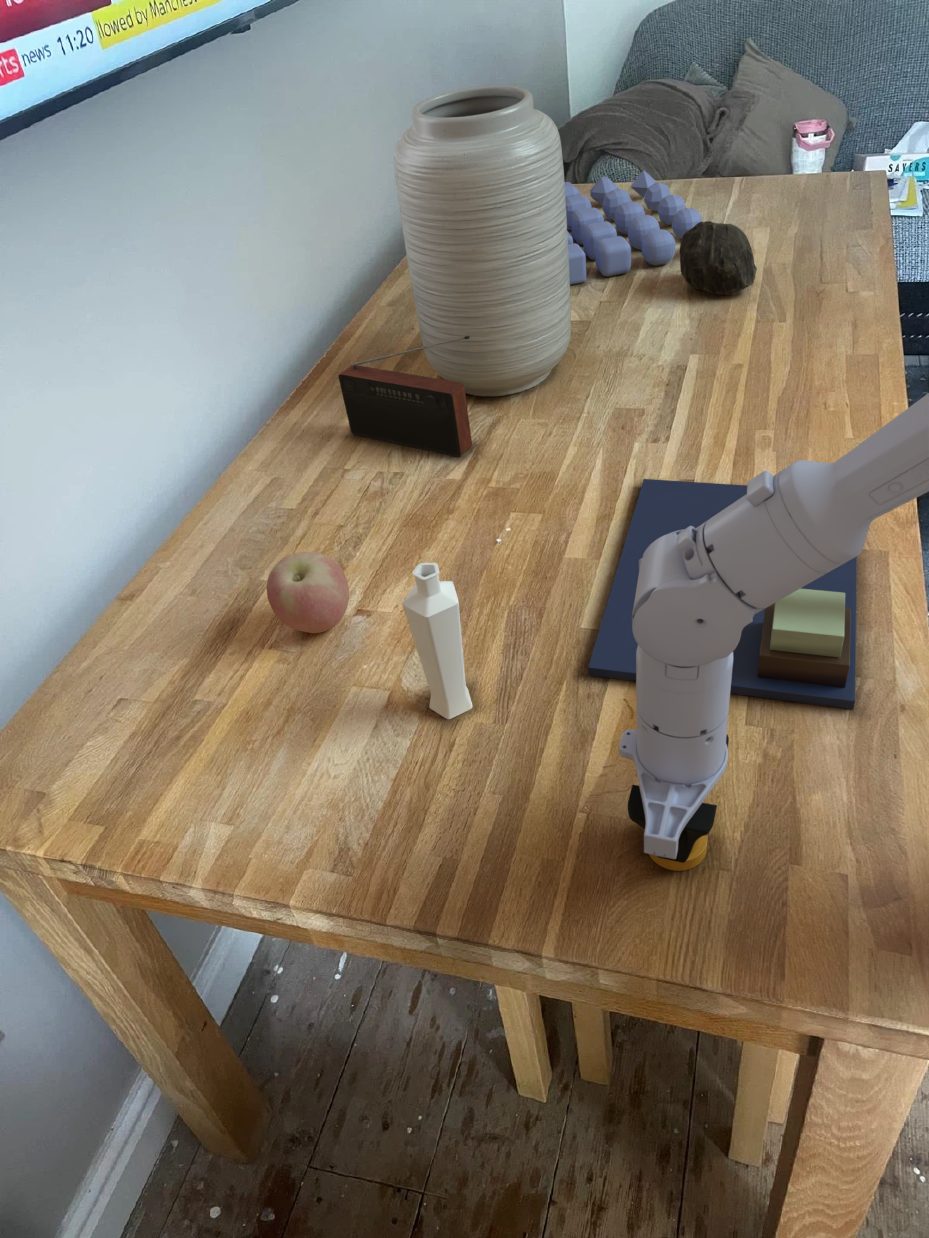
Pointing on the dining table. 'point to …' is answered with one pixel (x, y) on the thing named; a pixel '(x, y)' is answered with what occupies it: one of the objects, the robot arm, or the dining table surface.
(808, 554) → the robot arm
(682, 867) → the cone
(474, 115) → the vase
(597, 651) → the board
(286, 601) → the apple
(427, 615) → the perfume bottle
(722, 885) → the dining table surface
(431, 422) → the radio
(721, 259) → the rock
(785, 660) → the block stack
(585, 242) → the blocks
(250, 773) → the dining table surface
